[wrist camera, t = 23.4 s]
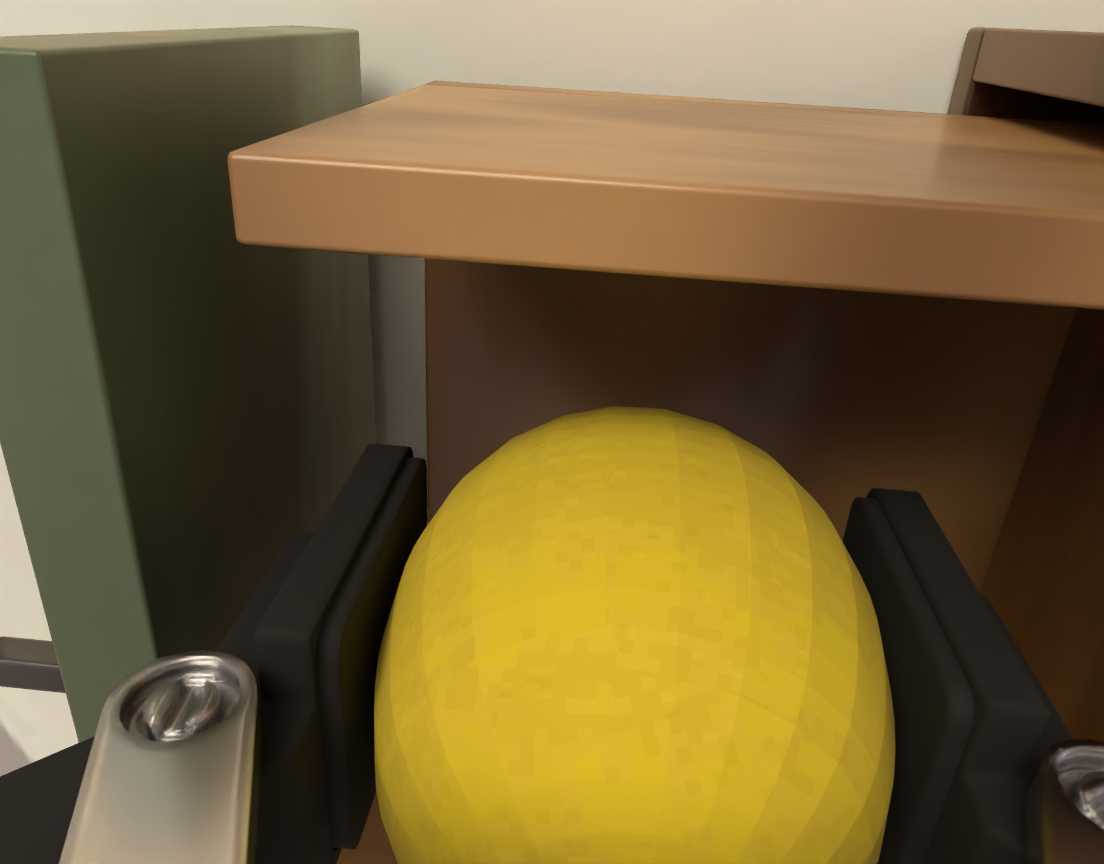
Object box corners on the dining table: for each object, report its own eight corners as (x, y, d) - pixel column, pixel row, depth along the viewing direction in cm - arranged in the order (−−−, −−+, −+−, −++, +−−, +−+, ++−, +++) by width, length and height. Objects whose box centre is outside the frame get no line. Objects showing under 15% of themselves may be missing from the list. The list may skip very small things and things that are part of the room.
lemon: (492, 642, 15) (364, 1222, 8) (418, 348, 13) (136, 786, 5) (817, 616, 14) (1009, 1235, 7) (801, 295, 12) (1064, 730, 5)
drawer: (115, 587, 20) (-210, 948, 12) (-8, 6, 15) (-729, -1, 7) (961, 669, 19) (1188, 1118, 11) (1166, 79, 14) (1870, 169, 6)
